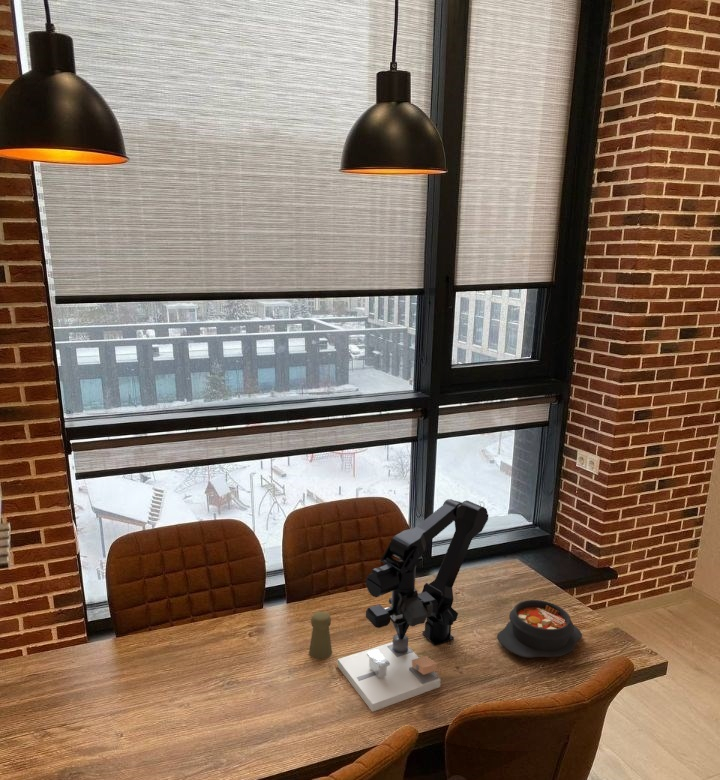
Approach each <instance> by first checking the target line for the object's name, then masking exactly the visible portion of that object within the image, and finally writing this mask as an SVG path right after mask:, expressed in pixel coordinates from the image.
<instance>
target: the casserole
mask: <svg viewBox="0 0 720 780" xmlns="http://www.w3.org/2000/svg"><path fill="white" fill-rule="evenodd" d="M496 638H497V641H498V643H499V644H500V645H501V646H502V647H503V648H504V649H505V650H507V651H508V652H510V653H512V654H514V655H516V656H519V657H521V658H524V659H525V658H528V659H529V658H539V657H541V658H542V657H545V658H548V657H549V658H556V657H562V656H566V655H568V654H570V653H572V651H573V650H574V649H575V647H576V645H577V643H578V641H580V640H581V639H582V638H583V634H582V632H581V630H580V629H579V628H578V627H577V626H576V625H574V623H573V621H572V620H571V616H570V614H569V613H568V612H567V611H566V610H565V609H564V608H562V607H560V606H558V605H557V604H554V603H552V602H550V601H549V602H548V601H544V600H542V599H541V600H540V599H539V600H538V599H526V600H523V601H520V602H518V603H517V604H516V605H515V606H514V608H513V609H511V610H510V612H509V622H507V624H506V625H505V626H504V628H503V629H501V630H500V631H499V632H498V633H497V634H496Z"/></svg>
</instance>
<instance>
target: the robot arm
mask: <svg viewBox="0 0 720 780" xmlns="http://www.w3.org/2000/svg"><path fill="white" fill-rule="evenodd" d="M488 521H489V513H488V510H487V508H486V507H484V506H482V505H479V504H477V503H474V502H472V501H470V500H464V501H462V502H461V501H459V500H458V501H457V500H453V498H452V499H448V498H447V499H446V500H444V502H443V504H442V505H441V506H440V507H439V508H438V509H437V510H436V509H435V511H434V512H432V513H431V514H430V515H429V516H427V518H425V519H424V520H423V521H421V522H420V523H419V524H418V525H417V526H415V527H413V528H409V529H404V530H402V531H401V532H400V533H397V534H396V535H394V536H393V537H392V539H391V540H390V542H389V544H388V546H387V548H386V549H385V552H384V553H383V555H382V557H381V559H380V562H381V563H383V564H384V565H381V566H378V567H375V568H372V570H371V573H369V574H368V575H367V576H366V579H365V585H366V588H367V590H368V593H369V594H370V595H371V596H372V597H374V598H379V597H381V596H384V595H386V594H389V593H391V597H390V598H388V603H389V604H390V606H388V607H383V606H382V605H381V604H380V603H379V604H376V605H373V606H369V607H367V608H366V610H365V618H366V619H367V620H368V621H369V623H370V624H372V625H373V626H374V628H377V629H380V628H384V627H386V626H389V624H390V623H391V622H392V624H393V626H394V628H395V632H396V634H397V635H398V637H399V638H400V639H403V638H404V636H405V635H407V632H408V629H409V627H415V626H417V625H422V624H424V630H422V635H423V636H424V637H425V638H426V639H428V641H429V642H431V644H432V645H434V646H439V645H442V644H445V643H447V642H450V641H454V640H455V637H454V636H453V635H452V634H451V633H452V632H451V631H452V625H454V622H456V621H457V619H458V615H459V613H458V611H457V610H455V609H454V608H453V607H452V606H453V602H454V591H453V586H454V584H455V582H456V579H457V577H458V575H459V572H460V570H461V567H462V565H463V562H464V559H465V558H466V557H465V556H466V555H467V553H468V551H469V548H470V545H471V543H472V540H473V538H474V537H476V536H477V535H479V534H480V533H481V532H482V531H483V530H484V528H485V526H486V524H487V523H488ZM452 523H454V528H455V530H454V533H453V535H452V539H451V540H450V543H449V545H448V548H447V550H446V553H445V555H444V558H443V561H442V562H441V564H440V566H439V569H438V572H437V574H436V576H435V579H434V580H433V581H431V582H430V583H428V582H425V583H424V585H423V588H422V591H421V592H419V593H418V589H417V588H415V587H416V586H415V585H416V581H415V580H416V568H417V567H420V566H421V565H423V562H422V561H421V560H419V559H420V558H421V557H422V556H423V555H424V553H425V552H426V547H427V545H428V544H429V543H430V542H431V541H433V539H434V538H436V537H437V536H438V535H439V534H440V533H441V532H443V531H444V530H445V529H446V528H447V527H449V526H450V525H451V524H452ZM393 556H394V557H395V558H398V559H399V560H397V559H395V558H393Z"/></svg>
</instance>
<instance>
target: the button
mask: <svg viewBox="0 0 720 780" xmlns="http://www.w3.org/2000/svg"><path fill="white" fill-rule="evenodd" d="M392 642H393V650H394V651H395V652H396V653H405V652H407V650H408V647H409V637H408V636H407V634H405V636H404V638H403V639H400V638H399V637H398V635H397V633H396V634H394V635H393V637H392Z"/></svg>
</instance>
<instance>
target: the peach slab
mask: <svg viewBox="0 0 720 780" xmlns="http://www.w3.org/2000/svg"><path fill="white" fill-rule="evenodd" d="M412 667H413V668H415V669H416V670H418V671H419V672H420V673H422V674H423V675H424V674H427V673H430V672H433V671H434V672H436V671H437V670H438V663H437V662H436V661H434V660H432V659H431V658H430V657H428V656H426V655H424V656H420V657H419V658H417V659H414V660H412Z"/></svg>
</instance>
